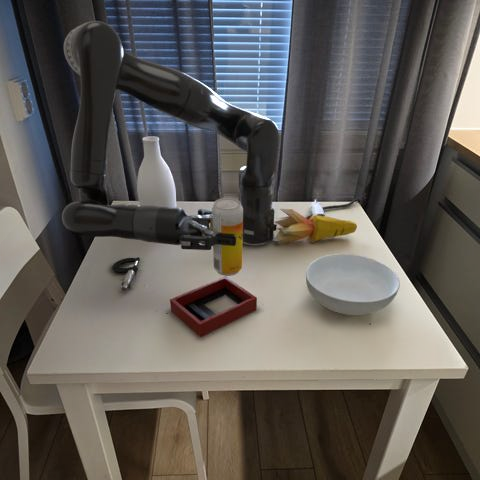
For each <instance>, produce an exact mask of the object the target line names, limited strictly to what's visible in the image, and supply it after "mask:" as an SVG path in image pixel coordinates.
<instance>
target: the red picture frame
mask: <svg viewBox="0 0 480 480" xmlns="http://www.w3.org/2000/svg"><path fill="white" fill-rule="evenodd" d="M224 296H226V297H227V298H229V299H230V300H232V301H233V302H235V303H236V304H235V305H233V306H231V307H229V308H226V309H225V310H222V311H220V312H218V313H216V312H214V310H212V309H211V308H209V307H208V306H207V305H206V304H208V303H211V302H213V301H215V300H217V299H220V298H223V297H224ZM169 304H170V305H169V306H170V313H171V314H173V315H174V316H175V317H176V318H177V319H179V320H180V322H182V323H183V324H184V325H185V326H187V327H188V328H189V330H191V331H193V332H194V334H196V335H197V336H198V338H202V337H205V336H206V335H207V336H208V335H209V334H210V333H213V332H214V331H217V330H219V329H221V328H223V327H225V326H227V325H230V324H231V323H233V322H235V321H237V320H239V319H242V318H243V317H245V316H247V315H250V314H252V313H254V312H256V311H257V309H258V297H257V296H256V295H254V294H252V293H251V292H249V291H248V290H246V289H245V288H244V287H242V286H240V285H239V284H238V283H236V282H235V281H233V280H232V279H231V278H229V277H228V276H223V277H220V278H218V279H215V280H213V281H211V282H208V283H206V284H203V285H200V286H198V287H196V288H193V289H192V290H189V291H187V292H183V293H182V294H179V295H177V296H174V297H173V298H169Z"/></svg>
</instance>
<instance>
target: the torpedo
mask: <svg viewBox="0 0 480 480" xmlns="http://www.w3.org/2000/svg"><path fill="white" fill-rule="evenodd" d="M318 194H319V192H316V198H319V197H318V196H319V195H318ZM322 207H323V204H322V203H321V202H318V201H317V199H314V201H313V202H312V201H311V205H310V206H308V208H310V212H311V214H312V215H313V216H314V215H319V216H325V217H326V214H325V210H323V208H322Z"/></svg>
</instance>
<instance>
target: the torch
mask: <svg viewBox="0 0 480 480" xmlns="http://www.w3.org/2000/svg"><path fill="white" fill-rule="evenodd" d="M279 210H280V211H282V212H283V213H284V214H286V215H287V216H283V217H279V218H276V219H274V224H275V225H277V230H278V232H277V233H276V235H275V236H274V237H273V241H276V242H277V243H276V245H280V244H287V243H292V242H297V241H299V240H303V239H306V238H308V240H309V241H310V243H315V242H318V241H321V240H324V239H327V238H335V237H341V236H347V235H350V234H353V233H355V232H356V230H357V228H358V225H357V223H356V222H354V221H351V220H345V219H339V218H334V217H330V216H326V215H325V216H319V215H314V216H311V217H310V219H306V216H304V215H302V214H301V213H299V212H297V211H295V210H294V209H292V208H279Z"/></svg>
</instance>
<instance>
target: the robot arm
mask: <svg viewBox="0 0 480 480" xmlns="http://www.w3.org/2000/svg"><path fill="white" fill-rule="evenodd" d="M63 53H64V57H65V60H66V61H67V63H68V65H69V66H70V67H71V69H72V70H73V71H74V72H75V74H77V75H79V76H80V102H79V109H78V114H77V119H76V122H75V125H74V130H73V136H72V141H71V153H70V182H71V184H72V185H73V187H76V188H77V189H78V197H79V200H78V201H77V200H76V201H73V202H70V203H68V204H67V205H66V206H65V207H64V209H63V210H62V213H61V220H62V221H61V222H62V225H63V226H64V227H65V229H66V230H67V231H68V232H70V233H72V235H75V236H79V237H87V238H107V237H108V238H111V237H112V238H120V239H125V240H135V241H142V242H147V243H153V244H162V245H163V244H164V245H170V246H171V245H172V246H180V249H181V250H190V251H191V250H193V251H194V250H195V251H211V250H212V248H213V246H216V245H217V244H219V245H229V246H235V245H236V235H235V234H226V233H218V234H217V233H215V232H213V226H212V209H211V210H210V209H204V208H198V209H197V214H193V215H188V214H186V212H185V210H184V209H183V207H182V208H181V207H176V208H174V207H163V206H150V205H149V206H140V205H135V204H126V203H125V204H121V203H119V204H110V201H109V193H108V188H107V175H108V174H107V171H108V155H109V142H110V130H111V122H112V115H113V109H114V103H115V97H116V92H117V90H118V91H121V92H123V93H125V94H127V95H130V96H131V97H133V98H135V99H137V100H139V101H140V102H142V103H144V104H145V105H147V106H150V107H151V108H153V109H155V110H157V111H159V112H161V113H163V114H165V115H166V116H168V117H170V118H173V119H174V120H177V121H179V122H181V123H183V124H184V125H185V124H186V125H189V126H191V127H193V128H197V129H201V130H205V131H210V132H212V133H215V134H217V135H219V136H221V137H223V138H224V139H226V140H227V141H229V142H231V143H232V144H234V145H235V146H236V147H238V148H239V149H240V150H242V151H244V152H246V164H245V165H244V166H242V167H241V168H240V169H239V171H238V200H239V201H240V202H241V205H242V207H243V245H246V246H248V247H249V246H250V247H262V246H266V245H267V244H269V243H271V242H273V241H274V240H273V239H274V232H276V231H277V230H278V229H277V228H278V225H275V224H274V221H275V212H276V211H275V208H273V197H274V196H273V195H274V177H275V174H276V172H277V169H278V163H279V152H280V142H281V139H280V138H281V135H280V129H279V126H278V125H277V123H276V122H275V121H274V120H272V119H270V118H268V117H265V116H262V115H260V114H257V113H256V112H255V113H254V112H251V111H249V110H245V109H242V108H240V107H237V106H235V105H234V104H233V105H232V104H230V103H228V102H227V101H225V100H224V99H223V98H222V97H220V96H219V95H218V94H217V93H216V92H215V91H214V90H213V89H211V88H210V87H209V86H207V85H206V84H204V83H203V82H201V81H199V80H197V79H195V78H194V77H192V76H190V75H188V74H187V73H184V72H182V71H180V70H177V69H175V68H172V67H168V66H165V65H162V64H159V63H156V62H151V61H148V60H145V59H141V58H140V57H138V56H134V55H133V54H131V53H129V52H127V51H126V50H124V48H123V43H122V40H121V38H120V36H119V34H118V32H116V30H115V29H114V28H113V27H112V26H110V25H109V24H108V23H106V22H104V21H100V20H91V21H88V22H84V23H82V24H80V25H77V26H76V27H74V28H73V29H72V30H70V31H69V32H68V34H67V35H66V37H65V38H64V42H63ZM356 202H357V203H361V202H362V199H360V198H358V197H357V198H354V199H352V200H351V201H349V202H348V203H345V204H337V205H327V206H322V208H323V211H325V210H330V209H341V208H347V207H350V206H352V205H353V204H355V203H356ZM311 216H313V215H312V213H311V214H309V215H308V216H305V218H306V219H308V220H309V219H310V217H311Z"/></svg>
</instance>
